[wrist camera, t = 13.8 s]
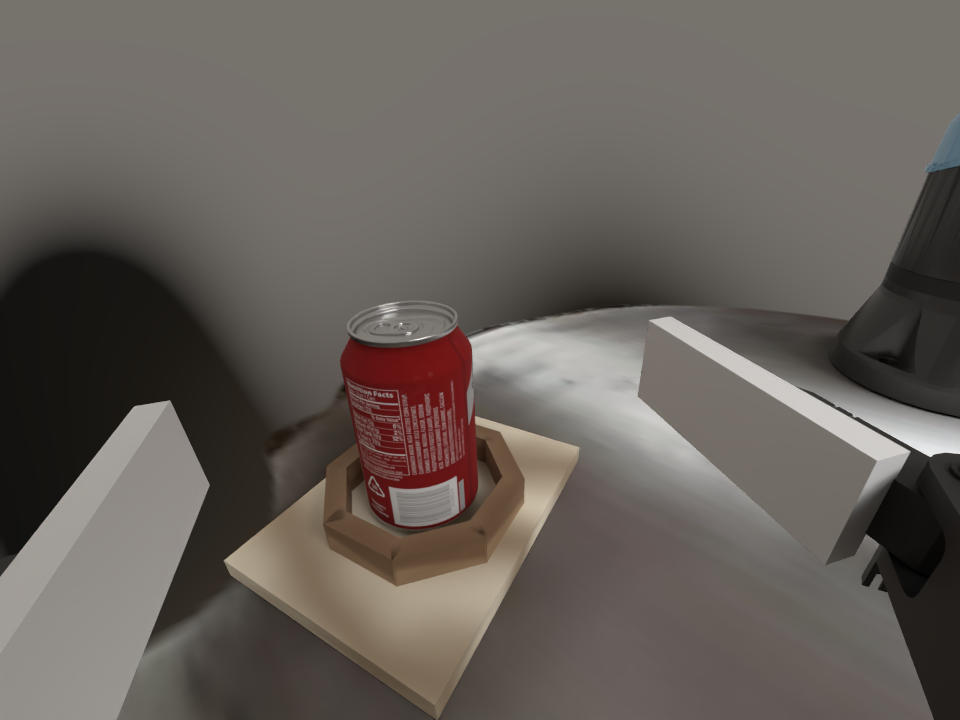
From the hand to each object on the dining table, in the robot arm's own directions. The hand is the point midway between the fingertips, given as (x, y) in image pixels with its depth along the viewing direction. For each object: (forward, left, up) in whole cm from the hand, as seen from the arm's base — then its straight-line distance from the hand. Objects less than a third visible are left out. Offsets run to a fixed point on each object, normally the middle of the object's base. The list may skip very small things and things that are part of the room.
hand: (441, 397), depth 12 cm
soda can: (-7, -7, -14) cm, 17 cm away
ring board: (-7, -7, -15) cm, 18 cm away
